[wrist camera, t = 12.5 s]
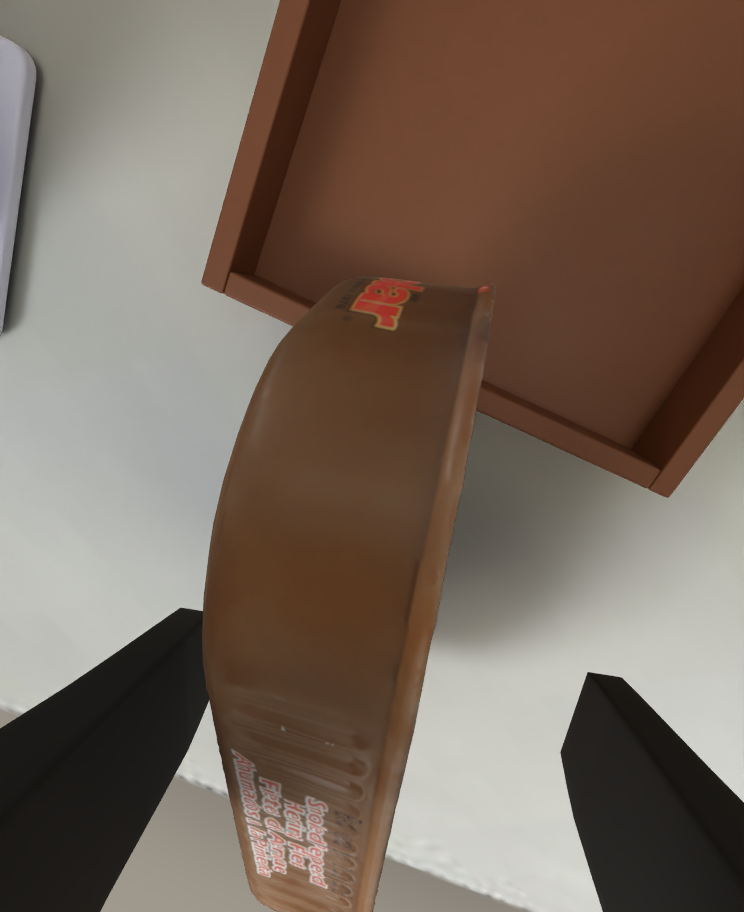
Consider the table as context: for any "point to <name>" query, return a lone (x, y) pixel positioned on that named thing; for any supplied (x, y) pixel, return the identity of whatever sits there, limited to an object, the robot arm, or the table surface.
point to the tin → (337, 577)
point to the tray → (517, 200)
